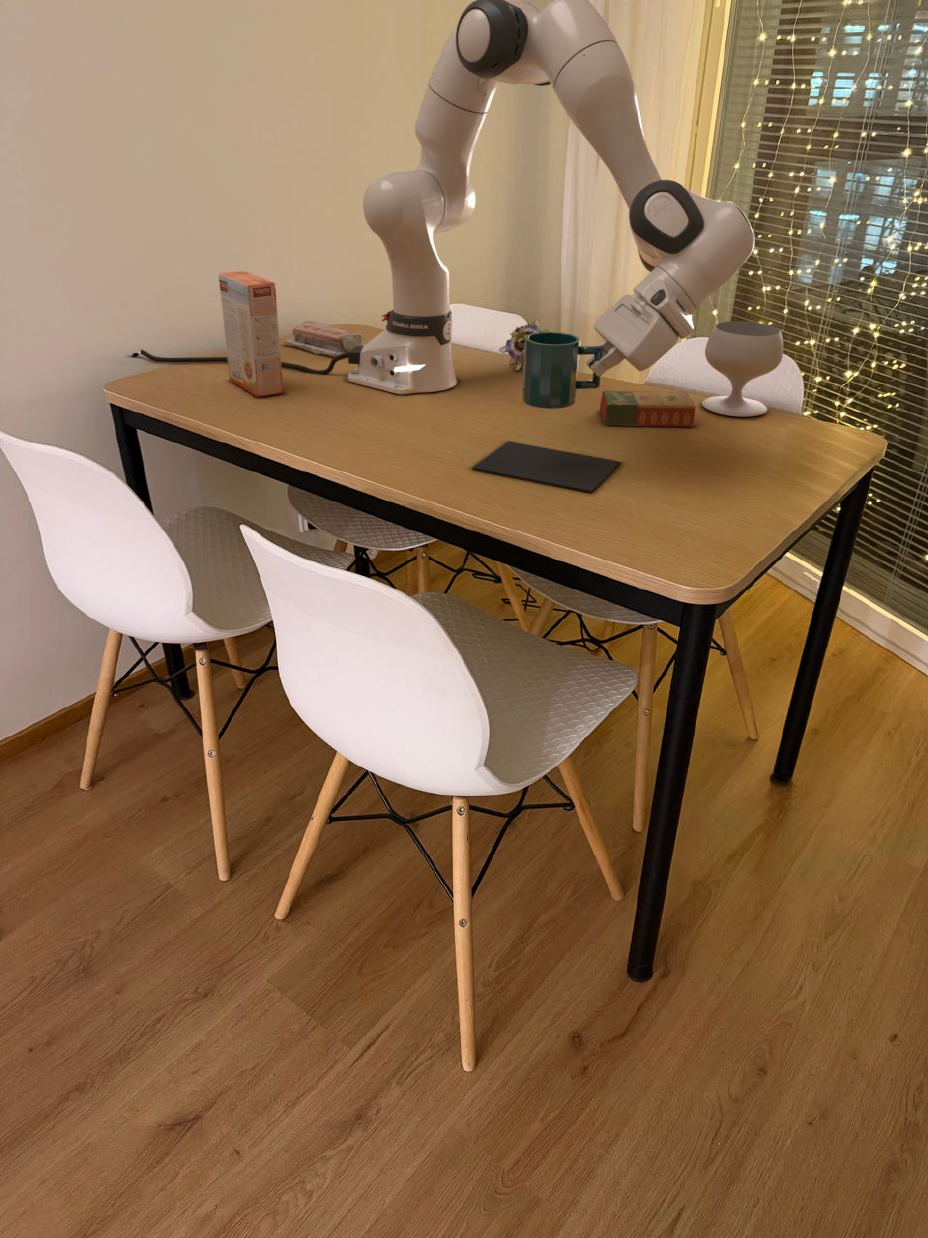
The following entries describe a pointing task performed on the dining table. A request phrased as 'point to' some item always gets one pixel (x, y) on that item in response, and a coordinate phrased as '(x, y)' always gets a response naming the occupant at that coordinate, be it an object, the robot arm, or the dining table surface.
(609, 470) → the placemat
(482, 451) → the dining table surface
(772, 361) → the chalice
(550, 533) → the dining table surface
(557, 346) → the mug
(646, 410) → the carton
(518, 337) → the passion flower
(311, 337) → the packaged product
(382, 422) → the dining table surface
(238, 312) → the cracker box
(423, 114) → the robot arm
